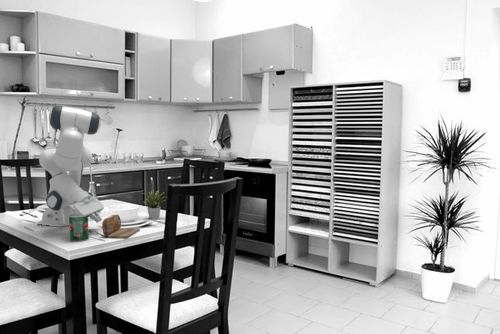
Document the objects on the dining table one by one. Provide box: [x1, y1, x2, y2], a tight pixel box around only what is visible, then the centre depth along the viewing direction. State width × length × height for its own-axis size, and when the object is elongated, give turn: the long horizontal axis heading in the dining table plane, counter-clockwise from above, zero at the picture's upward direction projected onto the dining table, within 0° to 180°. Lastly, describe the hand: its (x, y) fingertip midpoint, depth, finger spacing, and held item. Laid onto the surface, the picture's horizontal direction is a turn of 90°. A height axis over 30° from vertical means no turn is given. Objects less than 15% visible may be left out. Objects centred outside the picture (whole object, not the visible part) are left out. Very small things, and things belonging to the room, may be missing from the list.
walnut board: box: [107, 227, 141, 240], centre depth 203 cm, size 9×15×1 cm, turn 172°
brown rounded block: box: [101, 214, 122, 237], centre depth 203 cm, size 15×3×8 cm, turn 173°
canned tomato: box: [68, 214, 90, 243], centre depth 193 cm, size 8×8×11 cm
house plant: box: [141, 188, 168, 220], centre depth 235 cm, size 14×14×16 cm
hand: (99, 221), depth 204 cm, fingers closed
